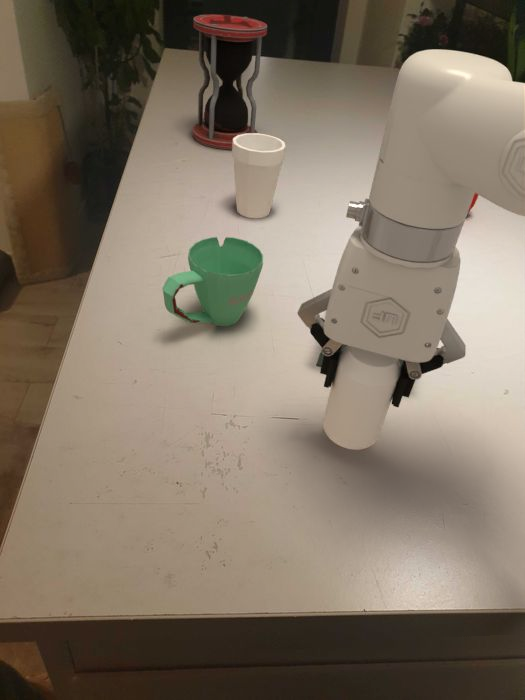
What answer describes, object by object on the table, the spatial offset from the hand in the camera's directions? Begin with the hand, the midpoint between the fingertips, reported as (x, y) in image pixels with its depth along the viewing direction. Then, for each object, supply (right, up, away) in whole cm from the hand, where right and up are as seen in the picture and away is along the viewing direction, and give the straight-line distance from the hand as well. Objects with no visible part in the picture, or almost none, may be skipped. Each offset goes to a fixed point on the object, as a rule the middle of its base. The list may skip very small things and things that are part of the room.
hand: (362, 386), depth 54 cm
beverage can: (-1, -5, +5) cm, 7 cm away
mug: (-18, +8, +20) cm, 28 cm away
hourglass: (-19, +56, +77) cm, 97 cm away
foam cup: (-12, +31, +48) cm, 58 cm away
